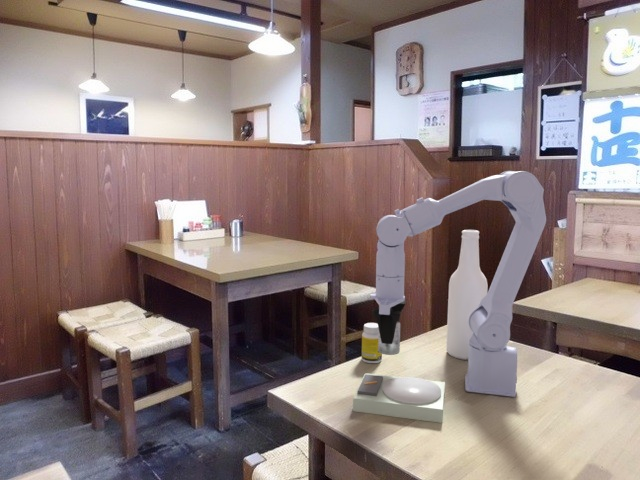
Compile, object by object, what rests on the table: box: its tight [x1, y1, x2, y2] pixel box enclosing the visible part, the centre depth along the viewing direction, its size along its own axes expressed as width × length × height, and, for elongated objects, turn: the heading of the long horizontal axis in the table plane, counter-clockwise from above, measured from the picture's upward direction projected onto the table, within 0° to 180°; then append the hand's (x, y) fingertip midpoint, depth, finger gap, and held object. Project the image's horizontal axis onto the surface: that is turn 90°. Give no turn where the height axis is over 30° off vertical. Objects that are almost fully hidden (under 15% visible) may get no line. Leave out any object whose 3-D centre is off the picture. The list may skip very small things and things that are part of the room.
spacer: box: [378, 321, 401, 356], centre depth 105 cm, size 4×4×6 cm
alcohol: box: [445, 229, 489, 361], centre depth 121 cm, size 9×9×30 cm
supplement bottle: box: [361, 322, 383, 364], centre depth 119 cm, size 5×5×8 cm
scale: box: [352, 373, 446, 424], centre depth 98 cm, size 16×12×3 cm
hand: (388, 339), depth 106 cm, fingers closed on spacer, 4 cm apart
